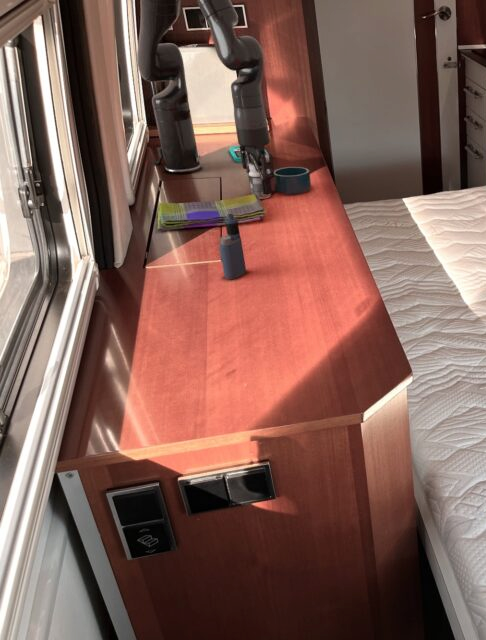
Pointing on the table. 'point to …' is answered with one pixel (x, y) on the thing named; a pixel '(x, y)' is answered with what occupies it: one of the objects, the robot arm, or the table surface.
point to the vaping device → (232, 250)
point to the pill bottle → (256, 183)
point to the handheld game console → (237, 153)
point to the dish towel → (209, 212)
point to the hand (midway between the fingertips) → (261, 190)
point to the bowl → (292, 180)
